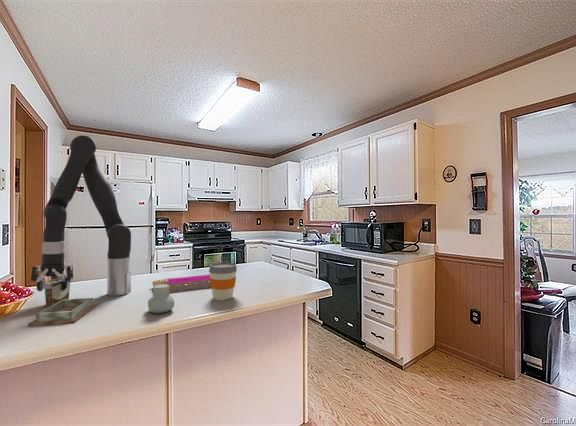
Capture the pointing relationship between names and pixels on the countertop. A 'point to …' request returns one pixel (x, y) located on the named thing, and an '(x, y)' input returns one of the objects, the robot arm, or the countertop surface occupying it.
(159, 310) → the pale grey rounded vessel
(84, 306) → the holder
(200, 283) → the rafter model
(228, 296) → the reusable coffee cup
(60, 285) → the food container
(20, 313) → the countertop surface
